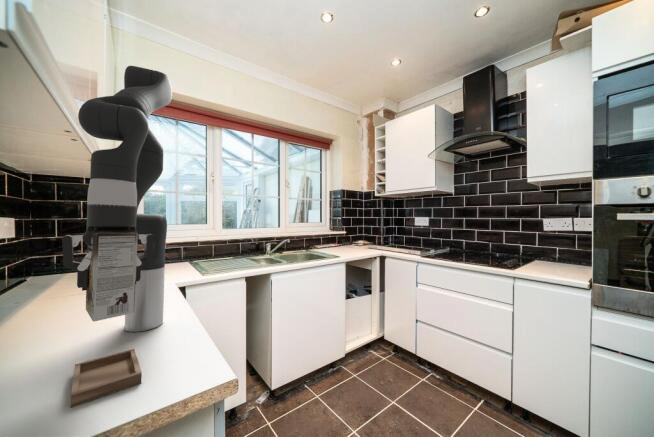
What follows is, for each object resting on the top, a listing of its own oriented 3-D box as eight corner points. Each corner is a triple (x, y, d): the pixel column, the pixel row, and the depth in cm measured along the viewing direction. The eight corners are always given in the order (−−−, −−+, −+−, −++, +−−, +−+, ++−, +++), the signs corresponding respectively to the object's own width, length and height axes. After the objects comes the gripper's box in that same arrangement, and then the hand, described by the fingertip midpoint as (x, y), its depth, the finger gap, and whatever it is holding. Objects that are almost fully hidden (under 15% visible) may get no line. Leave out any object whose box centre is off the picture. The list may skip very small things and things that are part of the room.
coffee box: (83, 310, 50) (86, 230, 50) (124, 302, 55) (126, 229, 55) (91, 322, 44) (94, 232, 44) (135, 313, 49) (138, 231, 49)
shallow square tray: (74, 374, 51) (75, 364, 51) (134, 357, 57) (134, 348, 57) (70, 407, 42) (71, 395, 42) (141, 383, 48) (141, 372, 48)
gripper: (59, 200, 42) (55, 298, 42) (159, 205, 52) (156, 284, 52) (63, 202, 48) (60, 288, 48) (153, 206, 58) (151, 278, 57)
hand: (110, 286), depth 50 cm, fingers closed on coffee box, 7 cm apart
